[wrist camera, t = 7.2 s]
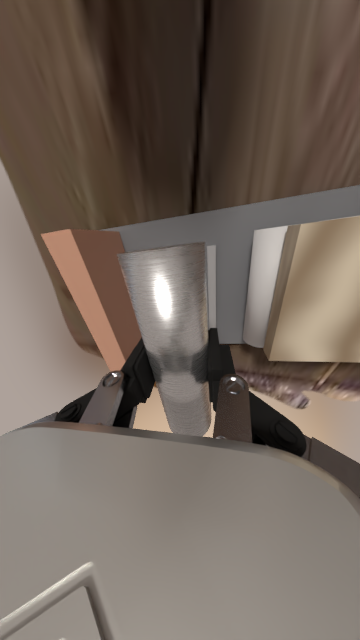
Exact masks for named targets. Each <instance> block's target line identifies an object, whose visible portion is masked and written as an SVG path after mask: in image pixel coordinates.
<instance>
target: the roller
mask: <svg viewBox="0 0 360 640" xmlns="http://www.w3.org/2000/svg"><path fill="white" fill-rule="evenodd" d="M117 257H118V261H119V264H120V267H121V270H122V274H123V277H124V280H125V284H126V287H127V290H128V293H129V297H130V300H131V303H132V306H133V310H134V313H135V316H136V319H137V323H138V326H139V329H140V332H141V336H142V339H143V342H144V345H145V349H146V352H147V355H148V358H149V362H150V365H151V368H152V372H153V375H154V378H155V381H156V385H157V388H158V391H159V394H160V398H161V401H162V404H163V407H164V411H165V413H166V416H167V420H168V423H169V426H170V429H171V431H172V432H173V433H176V434H184V435H193V436H201V437H202V436H203V435H204V434H205V433H206V432H207V431H208V429H209V427H210V423H211V402H209V380H208V350H207V348H208V343H209V340H208V312H207V284H206V256H205V242H193V243H185V244H177V245H169V246H162V247H155V248H148V249H142V250H136V251H130V252H124V253H119V254H117Z"/></svg>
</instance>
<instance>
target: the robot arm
mask: <svg viewBox="0 0 360 640" xmlns="http://www.w3.org/2000/svg"><path fill="white" fill-rule="evenodd" d="M208 340H209V343H208V348H207V350H208V380H209V402H213V409H214V411H215V412H216V416H215V425H214V433H213V438H210V437H201V436H193V435H184V434H176V433H167V432H158V431H149V430H140V429H132V428H133V424H134V419H135V414H136V410H137V405H138V404H139V403H146V400H147V398H149V397H150V395H151V392H152V389H153V386H154V383H155V378H154V375H153V372H152V368H151V365H150V362H149V358H148V355H147V352H146V349H145V345H144V342H143V339H142V337H141V339H140V341H139V342H138V344H137V345H136V347H135V348H134V349H133V351H132V353H131V354H130V356H129V357H128V359H127V360H126V362H125V364H124V365H123V367H122V368H121V370H120V371H119V370H115V371H112V372H109V373H108V374H106V375H105V376H104V377H103V378H102V380H101V381H100V383H99V385H98V387H97V388H96V389H94V390H93V391H91V392H89V393H87V394H85V395H84V396H82V397H80V398H78V399H76V400H75V401H73V402H71V403H69V404H68V405H66V406H65V407H64V408H63V409H62V410H61V411H60V412H59V413H58V412H55V413H53V414H51V415H49V416H46V417H44V418H42V419H39V420H37V421H35V422H32V423H30V424H28V425H25V426H23V427H20V428H18V429H15V430H13V431H10V432H8V433H6V434H4V435H2V436H1V437H0V640H360V464H359V463H357V462H356V461H354V460H352V459H351V458H349V457H347V456H345V455H343V454H342V453H340V452H338V451H336V450H335V449H333V448H331V447H329V446H328V445H326V444H324V443H322V442H320V441H319V440H317V439H315V438H313V437H312V438H309V437H307V436H305V435H304V434H303V433H302V432H301V431H300V429H299V428H298V427H297V426H296V425H295V424H294V423H293V422H291V421H290V420H288V419H287V418H286V417H284V416H283V415H282V414H280V413H279V412H278V411H276V410H275V409H273V408H272V407H271V406H269V405H268V404H266V403H265V402H264V401H262V400H261V399H260V398H258V397H257V396H255V395H254V394H253V393H251V392H250V391H249V388H248V384H247V382H246V381H245V380H244V379H243V378H242V377H240V376H239V375H236V373H235V369H234V365H233V360H232V356H231V351H230V347H229V345H219V338H218V331H217V328H210V330H208Z"/></svg>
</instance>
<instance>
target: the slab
mask: <svg viewBox="0 0 360 640" xmlns="http://www.w3.org/2000/svg"><path fill="white" fill-rule="evenodd" d="M263 350H264V352H265V354H266V356H267V358H268V360H269V361H306V362H360V216H355V217H348V218H341V219H334V220H326V221H319V222H312V223H305V224H298V225H291V226H288V228H287V233H286V238H285V243H284V248H283V253H282V258H281V263H280V268H279V273H278V278H277V283H276V288H275V293H274V298H273V303H272V308H271V313H270V318H269V323H268V328H267V333H266V338H265V343H264V348H263Z"/></svg>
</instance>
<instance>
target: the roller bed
mask: <svg viewBox="0 0 360 640" xmlns="http://www.w3.org/2000/svg"><path fill="white" fill-rule="evenodd" d="M355 216H360V185H357V186H352V187H346V188H340V189H334V190H328V191H323V192H317V193H311V194H305V195H300V196H294V197H288V198H282V199H277V200H271V201H265V202H259V203H253V204H248V205H242V206H236V207H230V208H225V209H219V210H213V211H207V212H202V213H196V214H190V215H184V216H178V217H173V218H167V219H161V220H155V221H150V222H144V223H138V224H132V225H127V226H121V227H115V228H109V229H103V230H79V229H68V230H62V231H57V232H51V233H46V234H41V236H42V238H43V240H44V242H45V243H46V245H47V247H48V249H49V251H50V253H51V255H52V257H53V259H54V261H55V263H56V265H57V267H58V269H59V271H60V273H61V275H62V277H63V279H64V281H65V283H66V285H67V287H68V289H69V291H70V293H71V295H72V296H73V298H74V300H75V302H76V304H77V306H78V308H79V310H80V312H81V314H82V316H83V318H84V320H85V322H86V324H87V326H88V328H89V330H90V332H91V334H92V336H93V338H94V340H95V342H96V344H97V346H98V348H99V350H100V351H101V353H102V355H103V357H104V359H105V361H106V363H107V365H108V367H109V369H110V371H111V372H112V371H115V370H119V371H120V370H121V368H122V367H123V365H124V364H125V362H126V360H127V359H128V357H129V356H130V354H131V353H132V351H133V349H134V348H135V347H136V345H137V344H138V342H139V341H140V339H141V337H142V336H141V332H140V329H139V326H138V323H137V319H136V316H135V313H134V310H133V306H132V303H131V300H130V297H129V293H128V290H127V287H126V284H125V280H124V277H123V274H122V270H121V267H120V264H119V261H118V257H117V254H119V253H124V252H130V251H136V250H142V249H148V248H155V247H162V246H169V245H177V244H185V243H193V242H205V256H206V284H207V312H208V330H210V328H217V331H218V338H219V344H249V345H251V346H254V347H258V348H264V343H265V338H266V333H267V328H268V323H269V318H270V313H271V308H272V303H273V298H274V293H275V288H276V283H277V278H278V273H279V268H280V263H281V258H282V253H283V248H284V243H285V238H286V233H287V228H288V226H291V225H298V224H305V223H312V222H319V221H326V220H334V219H341V218H348V217H355Z"/></svg>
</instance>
